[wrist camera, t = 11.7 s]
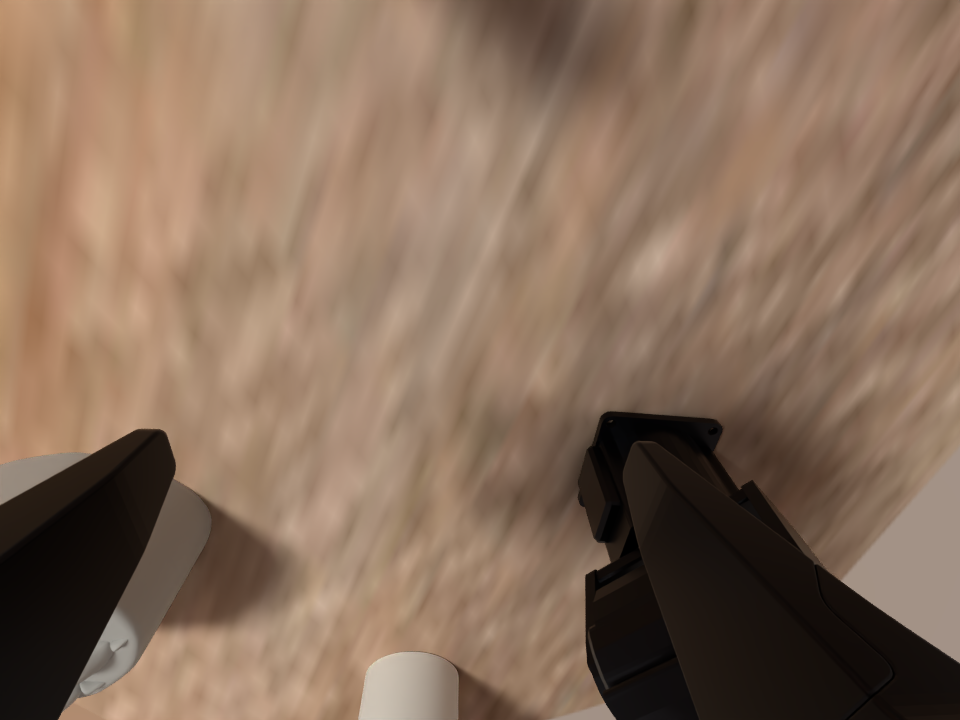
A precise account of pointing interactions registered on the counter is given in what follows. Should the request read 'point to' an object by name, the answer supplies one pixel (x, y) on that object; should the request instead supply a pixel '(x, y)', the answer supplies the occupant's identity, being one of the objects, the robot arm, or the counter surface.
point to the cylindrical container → (410, 688)
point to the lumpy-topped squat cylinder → (152, 581)
